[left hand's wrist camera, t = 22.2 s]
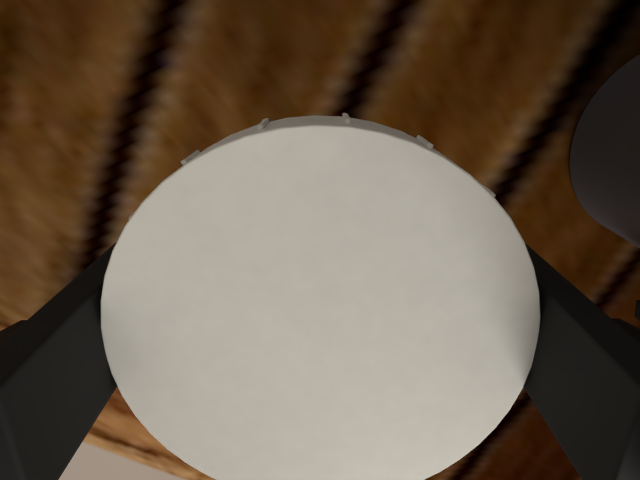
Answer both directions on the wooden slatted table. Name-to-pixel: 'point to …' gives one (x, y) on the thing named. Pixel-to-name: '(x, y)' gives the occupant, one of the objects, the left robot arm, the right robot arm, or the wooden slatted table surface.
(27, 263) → the wooden slatted table surface
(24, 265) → the wooden slatted table surface
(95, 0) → the wooden slatted table surface
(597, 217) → the jar
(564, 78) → the wooden slatted table surface
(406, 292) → the lid
